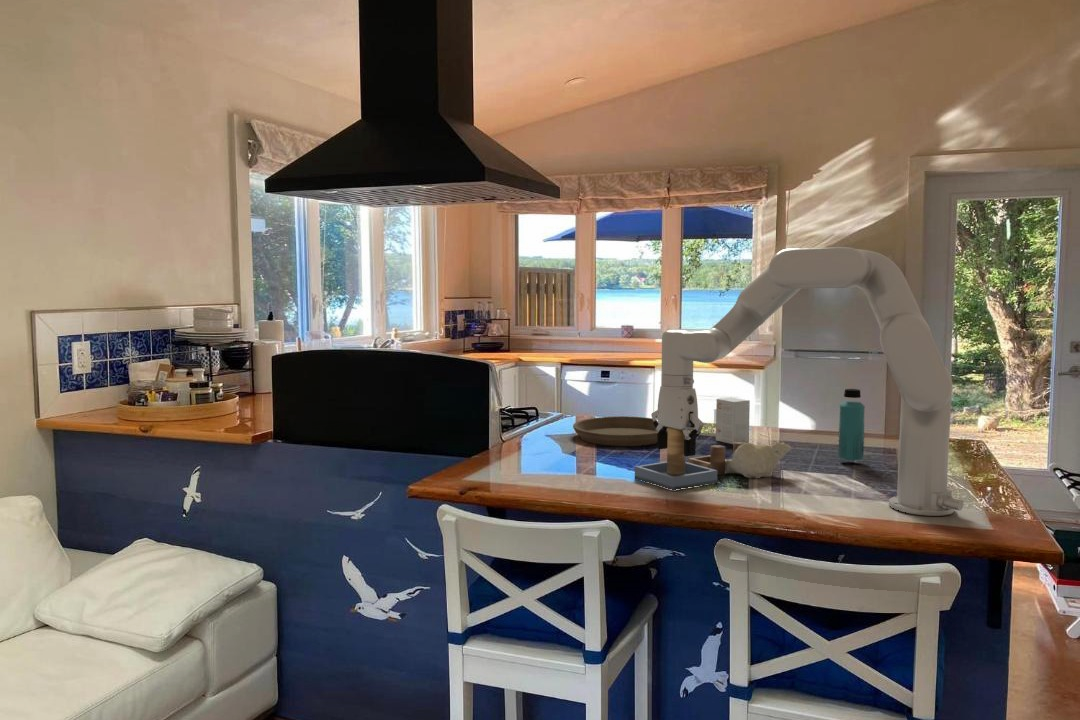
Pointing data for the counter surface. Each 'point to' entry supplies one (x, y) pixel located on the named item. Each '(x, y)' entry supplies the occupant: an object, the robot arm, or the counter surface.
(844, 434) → the beverage bottle
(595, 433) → the plant saucer
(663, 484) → the tray
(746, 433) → the small box
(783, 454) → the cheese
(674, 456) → the dowel
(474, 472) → the counter surface
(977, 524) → the counter surface
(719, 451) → the peg
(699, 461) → the dowel socket
